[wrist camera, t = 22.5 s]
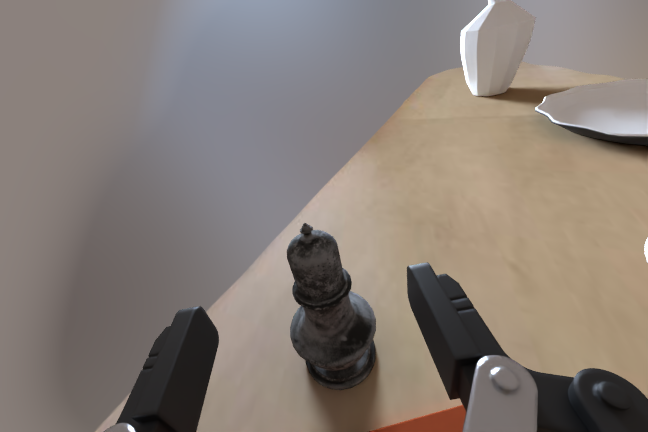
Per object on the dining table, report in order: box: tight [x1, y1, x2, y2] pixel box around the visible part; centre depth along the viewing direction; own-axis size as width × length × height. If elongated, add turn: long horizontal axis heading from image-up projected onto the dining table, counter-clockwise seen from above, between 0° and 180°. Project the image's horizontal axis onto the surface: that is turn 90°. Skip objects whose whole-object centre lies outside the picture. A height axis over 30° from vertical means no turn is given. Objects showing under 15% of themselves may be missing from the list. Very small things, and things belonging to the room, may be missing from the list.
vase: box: [460, 0, 535, 96], centre depth 63 cm, size 14×14×25 cm
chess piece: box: [287, 223, 376, 390], centre depth 18 cm, size 6×6×12 cm
